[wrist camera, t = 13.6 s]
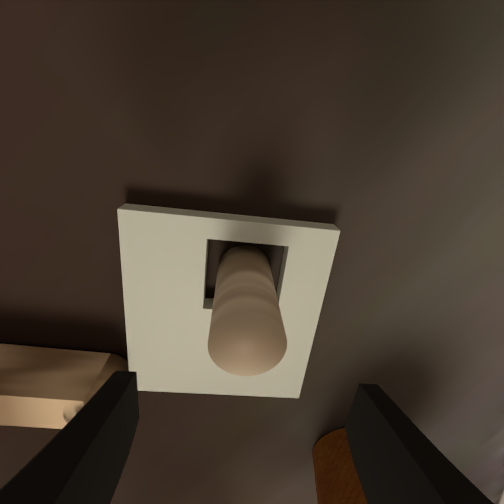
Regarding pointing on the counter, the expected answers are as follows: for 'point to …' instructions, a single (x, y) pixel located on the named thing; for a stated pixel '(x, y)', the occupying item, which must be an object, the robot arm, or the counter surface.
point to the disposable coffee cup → (336, 471)
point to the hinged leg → (50, 383)
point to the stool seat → (200, 308)
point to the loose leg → (246, 315)
